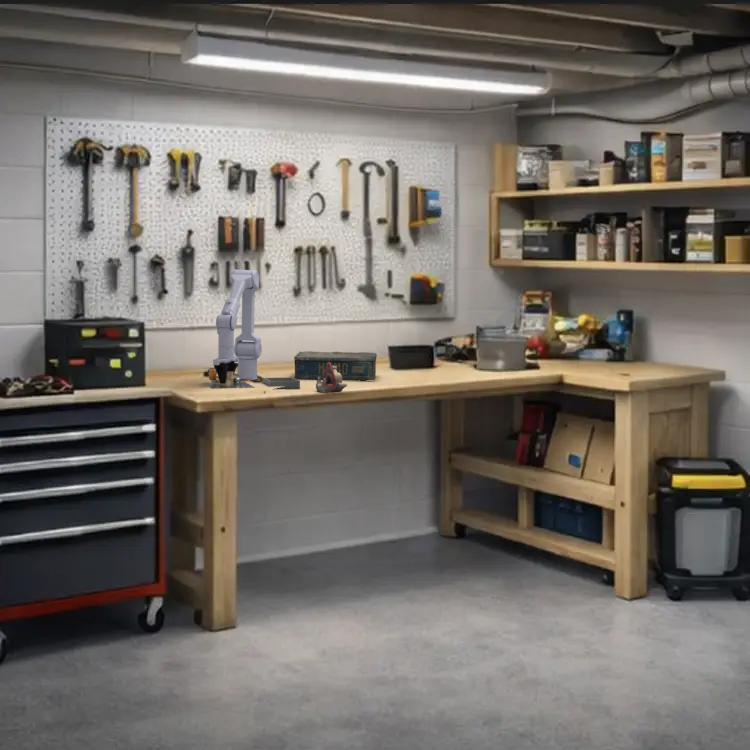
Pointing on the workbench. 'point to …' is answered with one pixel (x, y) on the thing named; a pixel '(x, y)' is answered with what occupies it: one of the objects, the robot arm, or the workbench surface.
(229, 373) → the block
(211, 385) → the crank base
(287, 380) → the tray
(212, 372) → the crank
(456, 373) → the workbench surface
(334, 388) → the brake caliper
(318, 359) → the metal box
